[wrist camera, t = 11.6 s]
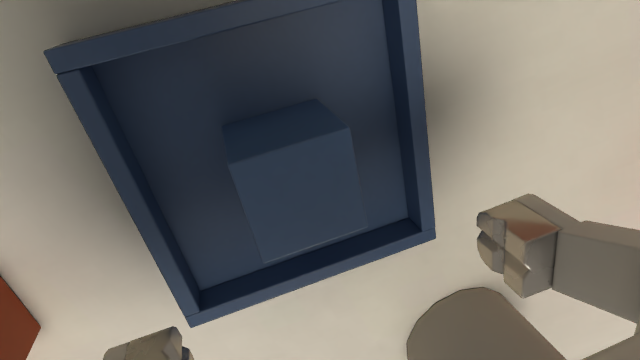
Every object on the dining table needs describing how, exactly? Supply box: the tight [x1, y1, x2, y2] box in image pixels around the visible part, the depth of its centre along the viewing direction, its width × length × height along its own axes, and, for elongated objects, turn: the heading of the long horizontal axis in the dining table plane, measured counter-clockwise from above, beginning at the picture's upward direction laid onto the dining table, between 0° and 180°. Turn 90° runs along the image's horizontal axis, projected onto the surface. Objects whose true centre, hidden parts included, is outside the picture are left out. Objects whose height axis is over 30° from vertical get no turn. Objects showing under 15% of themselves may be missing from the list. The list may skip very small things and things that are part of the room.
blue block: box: [222, 99, 368, 263], centre depth 17 cm, size 4×4×4 cm
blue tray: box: [43, 0, 436, 328], centre depth 18 cm, size 14×14×2 cm
